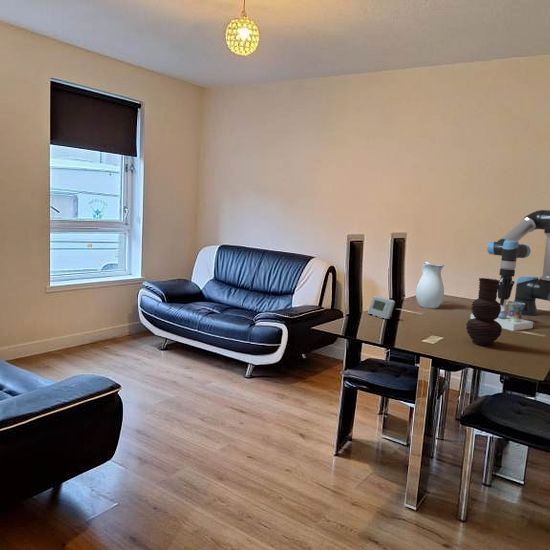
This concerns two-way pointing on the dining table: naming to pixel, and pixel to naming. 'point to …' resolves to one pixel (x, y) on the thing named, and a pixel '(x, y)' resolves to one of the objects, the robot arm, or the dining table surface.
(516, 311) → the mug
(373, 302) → the digital clock
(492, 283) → the vase
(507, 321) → the panel
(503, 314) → the slate button
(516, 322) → the sage button
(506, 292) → the robot arm
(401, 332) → the dining table surface
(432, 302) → the pitcher
